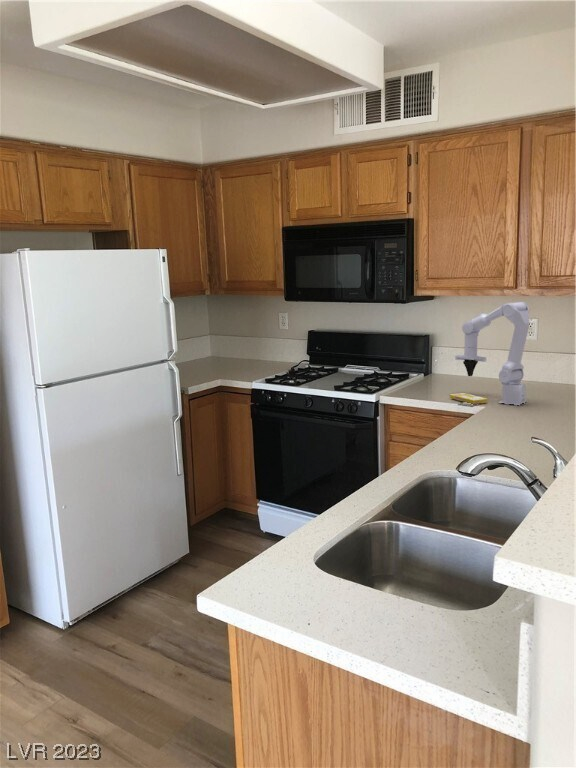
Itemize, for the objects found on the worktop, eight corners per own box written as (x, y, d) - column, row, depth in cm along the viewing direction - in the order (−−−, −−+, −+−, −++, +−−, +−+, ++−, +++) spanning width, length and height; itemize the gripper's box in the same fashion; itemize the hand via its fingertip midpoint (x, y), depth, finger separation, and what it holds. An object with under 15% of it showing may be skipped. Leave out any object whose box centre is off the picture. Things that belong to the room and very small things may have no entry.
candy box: (472, 405, 268) (487, 402, 271) (472, 400, 267) (487, 397, 270) (449, 398, 282) (464, 396, 286) (449, 394, 282) (464, 392, 285)
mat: (482, 402, 273) (482, 402, 272) (472, 406, 265) (472, 406, 265) (468, 401, 277) (468, 400, 277) (457, 404, 270) (457, 404, 270)
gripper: (489, 347, 283) (488, 376, 285) (460, 345, 293) (459, 373, 295) (482, 348, 278) (482, 378, 280) (453, 346, 288) (452, 375, 290)
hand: (470, 375), depth 287 cm, fingers closed
